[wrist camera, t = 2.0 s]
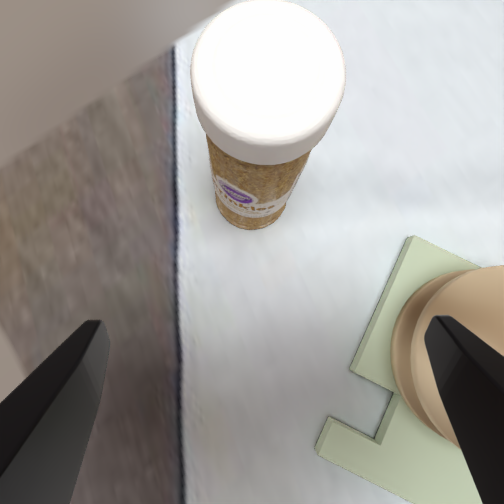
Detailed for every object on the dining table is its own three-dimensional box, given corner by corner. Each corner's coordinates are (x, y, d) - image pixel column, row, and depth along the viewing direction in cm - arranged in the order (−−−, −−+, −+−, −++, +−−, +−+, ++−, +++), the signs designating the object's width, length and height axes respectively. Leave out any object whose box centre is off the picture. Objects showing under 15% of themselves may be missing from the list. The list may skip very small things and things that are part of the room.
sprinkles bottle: (208, 221, 24) (168, 119, 10) (225, 153, 24) (210, -27, 11) (279, 238, 24) (332, 159, 10) (294, 170, 24) (365, 11, 11)
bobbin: (522, 476, 21) (575, 509, 18) (363, 396, 22) (386, 414, 18) (580, 315, 23) (640, 318, 19) (429, 242, 23) (462, 232, 19)
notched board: (500, 542, 22) (513, 554, 21) (314, 448, 22) (317, 455, 21) (580, 322, 24) (595, 323, 23) (407, 237, 24) (414, 235, 23)
